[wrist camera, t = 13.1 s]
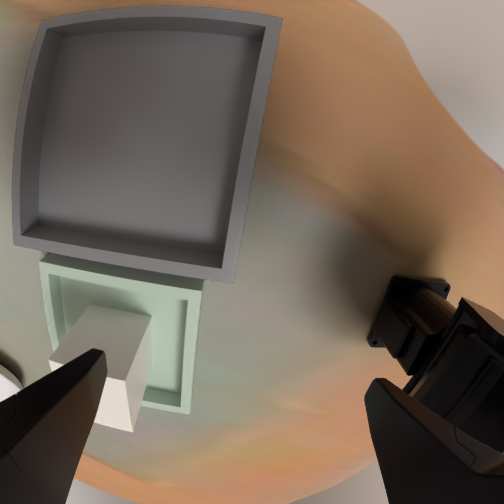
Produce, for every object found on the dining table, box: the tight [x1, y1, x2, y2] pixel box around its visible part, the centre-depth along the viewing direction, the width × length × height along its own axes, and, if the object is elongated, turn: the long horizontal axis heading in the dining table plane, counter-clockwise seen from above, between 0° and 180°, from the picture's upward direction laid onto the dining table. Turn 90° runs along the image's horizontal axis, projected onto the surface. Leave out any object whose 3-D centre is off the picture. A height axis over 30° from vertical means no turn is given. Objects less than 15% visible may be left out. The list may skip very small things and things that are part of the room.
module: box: [49, 304, 152, 432], centre depth 18 cm, size 5×5×7 cm
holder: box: [39, 253, 205, 414], centre depth 21 cm, size 12×12×2 cm
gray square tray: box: [12, 6, 283, 284], centre depth 16 cm, size 16×16×3 cm
